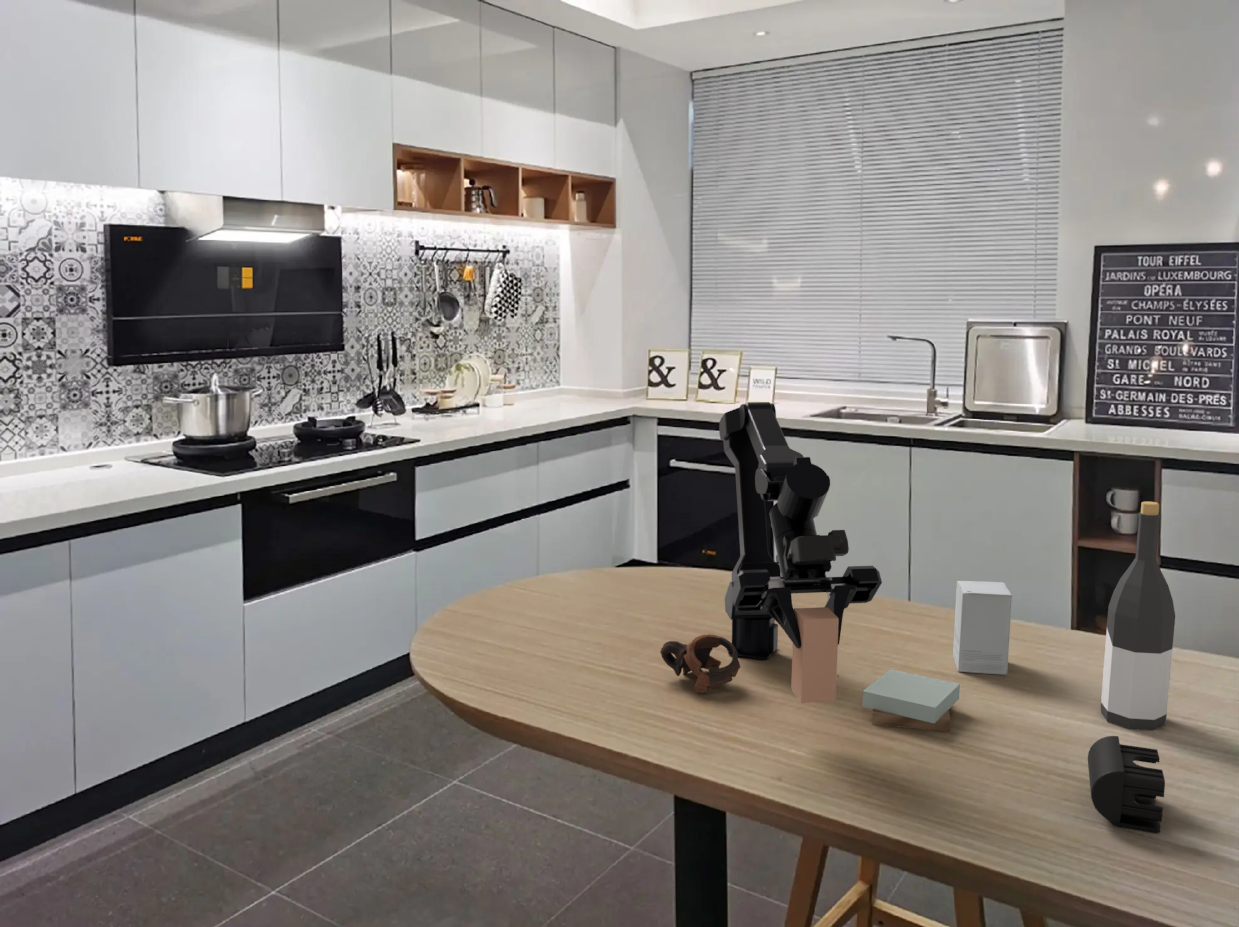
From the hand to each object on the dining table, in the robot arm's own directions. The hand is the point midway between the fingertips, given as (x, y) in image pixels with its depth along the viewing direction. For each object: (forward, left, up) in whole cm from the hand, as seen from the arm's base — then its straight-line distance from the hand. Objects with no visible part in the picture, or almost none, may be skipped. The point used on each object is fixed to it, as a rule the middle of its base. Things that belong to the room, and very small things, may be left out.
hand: (818, 646), depth 133 cm
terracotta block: (-1, +1, -7) cm, 7 cm away
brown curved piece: (-21, +15, -14) cm, 29 cm away
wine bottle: (+38, +25, -14) cm, 47 cm away
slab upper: (+10, +15, -12) cm, 22 cm away
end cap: (+36, -3, -14) cm, 38 cm away
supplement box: (+17, +38, -14) cm, 44 cm away
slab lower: (+9, +15, -14) cm, 23 cm away
